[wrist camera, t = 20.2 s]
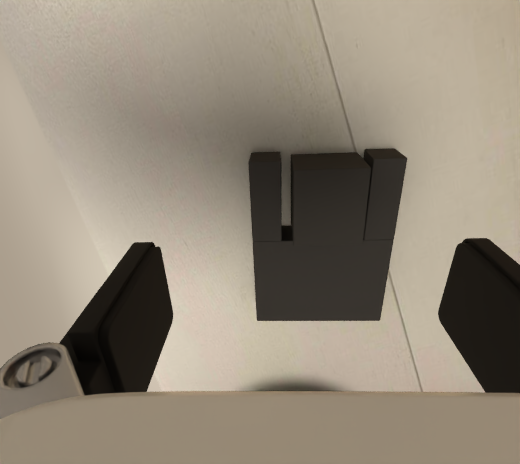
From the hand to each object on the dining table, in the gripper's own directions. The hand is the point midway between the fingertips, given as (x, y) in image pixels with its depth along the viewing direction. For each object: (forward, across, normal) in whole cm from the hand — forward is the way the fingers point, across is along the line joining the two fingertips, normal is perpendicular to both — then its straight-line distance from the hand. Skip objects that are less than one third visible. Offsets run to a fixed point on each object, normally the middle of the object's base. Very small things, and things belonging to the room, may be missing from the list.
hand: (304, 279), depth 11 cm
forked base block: (+19, -3, +9) cm, 21 cm away
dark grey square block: (+19, -4, +4) cm, 20 cm away
